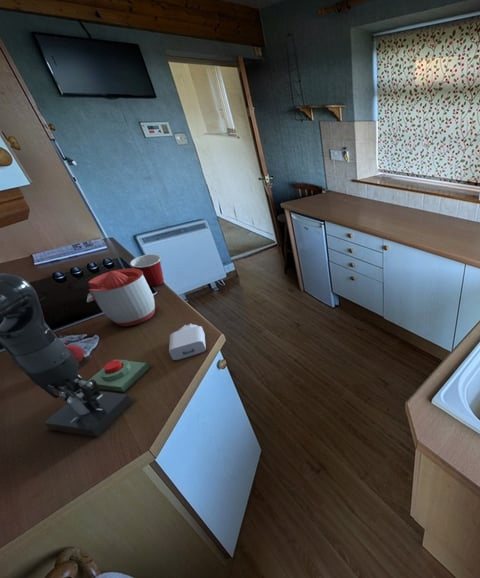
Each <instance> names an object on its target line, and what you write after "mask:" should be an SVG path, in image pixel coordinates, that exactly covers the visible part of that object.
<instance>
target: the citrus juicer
mask: <svg viewBox="0 0 480 578" xmlns="http://www.w3.org/2000/svg"><path fill="white" fill-rule="evenodd" d="M87 283H88V285H89V287H90V288H89V289H88V291H89V292H88V294H87V299H86V303H91V302H93V301H94V302H95V303H96V304H97V305H98V307H99V308H100V310H101V311H102V312H103V314H104V315H105V316H106V317H107V318H109V319H110V320H111V321H112V322H113V323H114V324H117V325H118V326H121V327H131V326H135V325H139V324H141V323H144V322H145V321H147V320H150V319H151V318H152V317H153V316H154V314H155V311H156V303H155V297H154V295H153V292H152V290H151V288H150V286H149V285H148V284H147V282H146V280H145V278H144V276H143V272H142V271H141V270H140V269H135V268H134V267H129V268H128V267H127V268H121V269H115V270H110V271H108V272H105V273H102V274H100V275H97V276H95V277H93V278H91V279H90V280H89V281H88V282H87Z"/></svg>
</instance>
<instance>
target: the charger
mask: <svg viewBox="0 0 480 578" xmlns="http://www.w3.org/2000/svg"><path fill="white" fill-rule="evenodd" d="M206 349H207V347H206V334H205V332H204V329H203V326H200V325H197V324H192V323H191V322H190V323H189V324H187V325H186V324H184V325H183V326H182V327H180V328H179V329H178V330H176V331H174V332H172V333H170V335H169V346H168V353H169V355H170V358H171V359H172V361H179V360H182V359H186V358H189V357H192V356H195V355H198V354H202V353H204V352H206Z"/></svg>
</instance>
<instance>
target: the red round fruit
mask: <svg viewBox="0 0 480 578" xmlns="http://www.w3.org/2000/svg"><path fill="white" fill-rule="evenodd" d="M65 345H66V347H67V348H68V349H69V351H70V352H71V353H72V354H73V356H74V357H75V358H76V360H77V361H78V362H79V363H80V362H81V361H83V359H84V357H85V352H84V351H85V350H84V349H83V348H82V347H80V346H78V345H76V344H65Z"/></svg>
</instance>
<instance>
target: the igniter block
mask: <svg viewBox="0 0 480 578" xmlns="http://www.w3.org/2000/svg"><path fill="white" fill-rule="evenodd" d="M115 360H116V359H115V358H114V359H113V360H112V361H115ZM117 360H118V361H120V362H121V364H122V366H123V367H122V368H121V369H120V370H119V371H117V372H115V373H111V374H108V373H107V372H106V371H105V369H104V367H103V368H101V369H100V370H99V371H98V372H96V373H95V374H94V375H92V377H90V378H89V379H88V380H86V381H87V382H89V381H90V380H91V379H93V380H95V381H96V383H97V386H98V389H99V390H104V391H110V392H111V391H113V392H121V393H125V392H127V390H128V389H129V388H130V387H131V386H132V385H133V384H135V382H137V381H138V380H139V379H140V378H141V377H142V376H143V375H144V374H145V373H146V372H147V371H148V370H149V369H150V366H149V365H148V362H143V361H132V360H127V359H117Z"/></svg>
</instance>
